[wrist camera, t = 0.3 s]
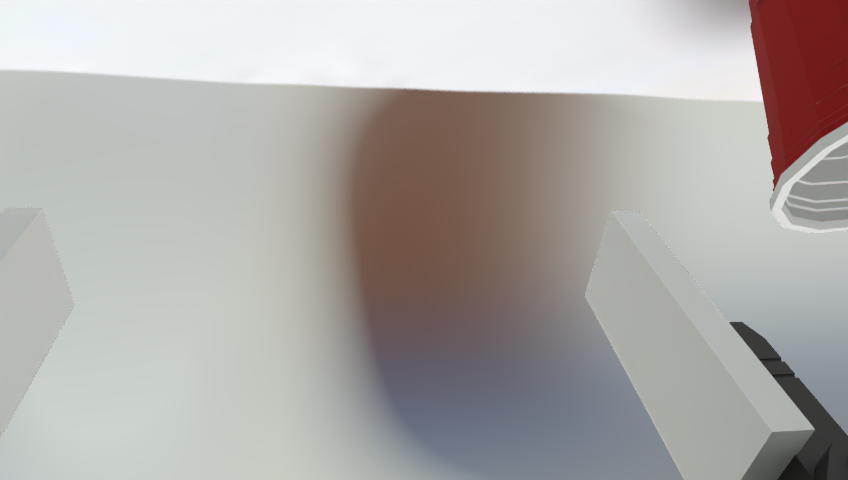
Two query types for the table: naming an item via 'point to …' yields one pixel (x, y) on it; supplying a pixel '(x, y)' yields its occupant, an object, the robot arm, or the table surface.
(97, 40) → the table surface
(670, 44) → the table surface
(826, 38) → the plastic cup
